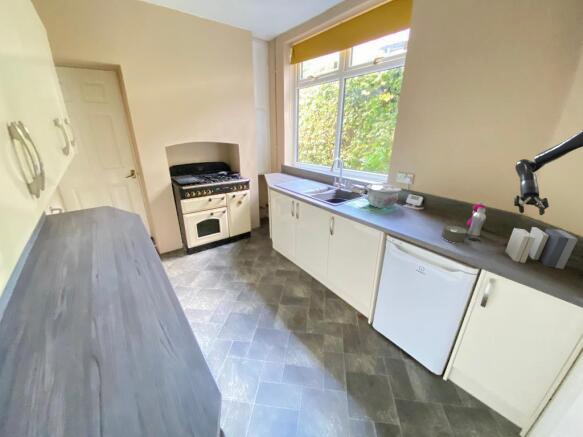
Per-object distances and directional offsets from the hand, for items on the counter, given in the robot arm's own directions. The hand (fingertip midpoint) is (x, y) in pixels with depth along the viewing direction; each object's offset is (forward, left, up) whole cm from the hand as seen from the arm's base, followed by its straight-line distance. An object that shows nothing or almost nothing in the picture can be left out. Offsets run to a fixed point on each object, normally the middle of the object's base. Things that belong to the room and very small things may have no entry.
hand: (532, 213), depth 131 cm
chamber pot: (+79, -43, -19) cm, 92 cm away
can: (+36, +9, -19) cm, 42 cm away
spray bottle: (+21, -11, -19) cm, 30 cm away
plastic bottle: (+25, +5, -19) cm, 32 cm away
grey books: (-3, +21, -19) cm, 29 cm away
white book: (+1, +15, -19) cm, 24 cm away
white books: (+10, +21, -19) cm, 30 cm away
